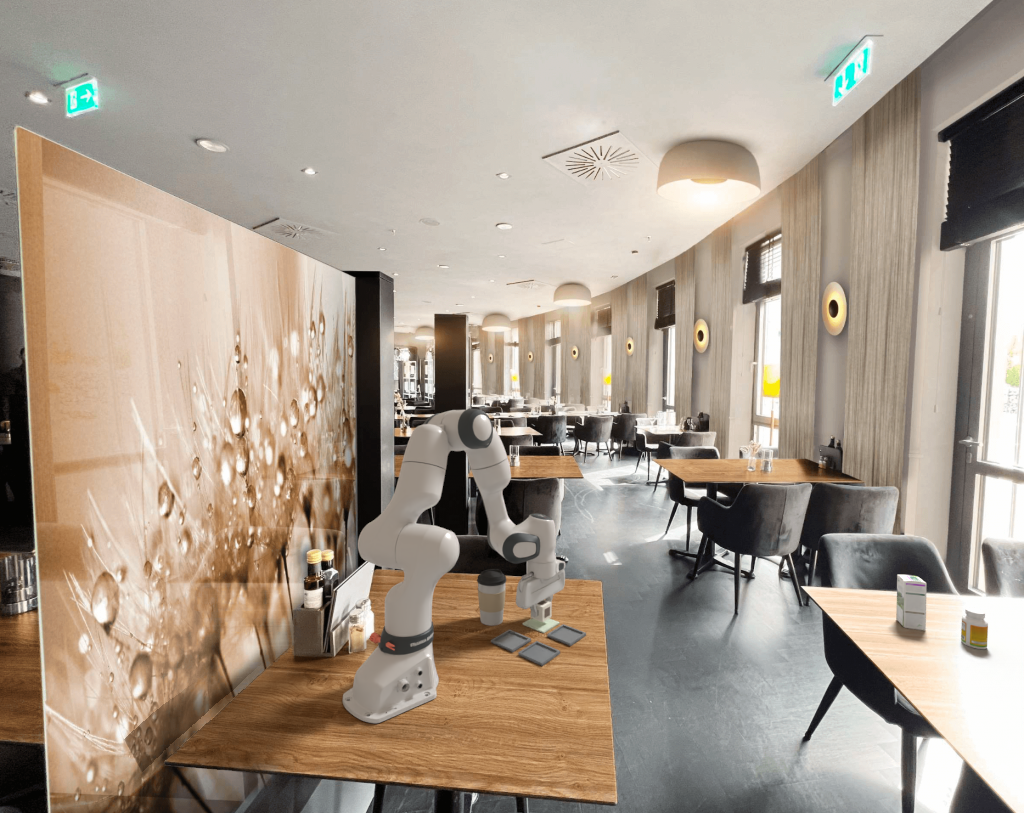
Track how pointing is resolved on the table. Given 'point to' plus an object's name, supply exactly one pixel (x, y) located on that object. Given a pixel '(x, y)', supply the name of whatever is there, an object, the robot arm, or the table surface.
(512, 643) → the tray
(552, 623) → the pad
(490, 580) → the coffee cup
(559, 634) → the tray
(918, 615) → the syrup box
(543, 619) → the letter cube
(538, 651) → the tray
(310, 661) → the table surface
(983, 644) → the supplement bottle
